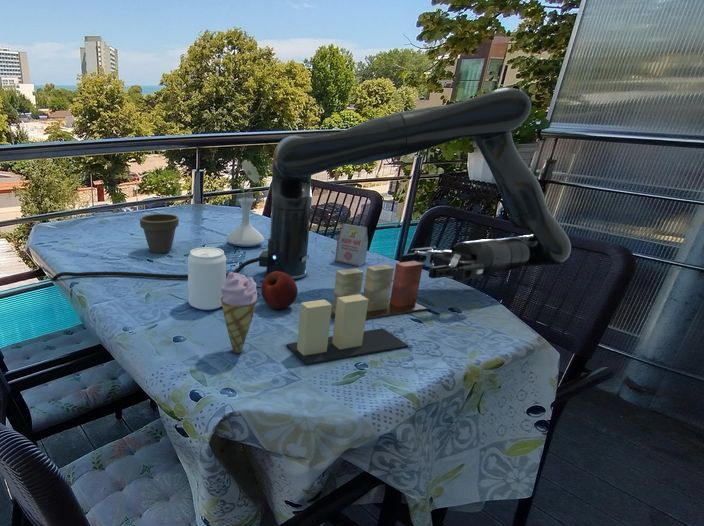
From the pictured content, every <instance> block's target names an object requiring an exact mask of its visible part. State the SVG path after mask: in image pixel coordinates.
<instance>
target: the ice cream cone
mask: <svg viewBox="0 0 704 526" xmlns="http://www.w3.org/2000/svg"><path fill="white" fill-rule="evenodd" d="M228 273H229V274H228V276H226V281H225V283H224V285H223V286H222V287H221V291H222V295H223V296H222V297H221V302H222V306H221V307H222V314H223V319H224V323H225V327H226V330H227V334H228V337H229V341H230V345H231V348H232V352H233V353H235V354H240V353H241V352H242V350H243V348H244V345H245V342H246V339H247V336H248V333H249V330H250V327H251V324H252V321H253V317H254V313H255V309H256V304H257V300H258V293H257V282H255V280H254V278H253V277H247V276H246V275H244V274H240V273H233V271H230V272H228Z"/></svg>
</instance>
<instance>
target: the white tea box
mask: <svg viewBox="0 0 704 526" xmlns="http://www.w3.org/2000/svg"><path fill="white" fill-rule="evenodd" d="M368 246H369V237H368V227H366V226H359V225H353V224H347V223H341V227H340V230H339V233H338V237H337V239H336V248H335V257H334V261H335V262H338V263H342V264H346V265H351V266H355V267H361V266H362V265H364V264H366V260H367V253H368Z"/></svg>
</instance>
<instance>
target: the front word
mask: <svg viewBox="0 0 704 526" xmlns="http://www.w3.org/2000/svg"><path fill="white" fill-rule="evenodd" d="M368 300H369V299H367V298H366V297H364V296H363V294H361V293H360V294H358V295H351V296H344V297H337V305H336V314H335V318H334V324H333V331H332V336H329V333H330V328H331V327H330V326H331V325H330V324H331V318H332V316H331V309H332V306H333V303H332V304H331V303H330V301H327V300H326V299H324V298H323V299H317V300H310V301H302V302H300V306H299V307H300V308H299V319H298V331H297V342H291V343H286V347H287V348H288V349H289V350H290V351H291V352H292V353H293V354H294V355H295V356H296V357H297V358H298V359H299V360H300V361H302V363H303V364H304V365H306V366H310V365H314V364H315V365H316V364H320V363H325V362H331V361H337V360H342V359H349V358H354V357H361V356H365V355H371V354H376V353H382V352H389V351H395V350H398V349H399V350H400V349H407V348H409V344H407V343H406V342H404V341H402V340H401V339H400V338H398V337H396V336H395V335H393V334H392V333H390V332H389V331H387V330H386V329H384V328H376V329H369V330H365V327H366V321H367V319H366V314H367V307H368Z"/></svg>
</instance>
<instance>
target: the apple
mask: <svg viewBox="0 0 704 526" xmlns="http://www.w3.org/2000/svg"><path fill="white" fill-rule="evenodd" d="M260 292H261V296H262V299H263V301H264V302H265V303H266V305H267V306H269V307H270V308H272V309H275V310H281V309H286V308H288V307H290V306H291V305H292V304H293V303H295V301H296V299H297V297H298V285H297V283H296V281H295V279H292V277H290V276H289V275H288V274H286V273H284V272H279V271H274V272H271V273H269V274H268V275H267V274H266V276H265V278H264V279H263V280H262V282H261V285H260Z"/></svg>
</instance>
